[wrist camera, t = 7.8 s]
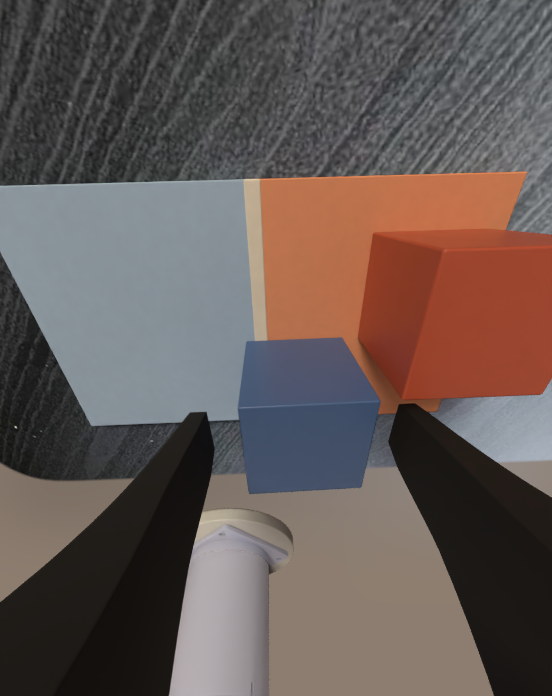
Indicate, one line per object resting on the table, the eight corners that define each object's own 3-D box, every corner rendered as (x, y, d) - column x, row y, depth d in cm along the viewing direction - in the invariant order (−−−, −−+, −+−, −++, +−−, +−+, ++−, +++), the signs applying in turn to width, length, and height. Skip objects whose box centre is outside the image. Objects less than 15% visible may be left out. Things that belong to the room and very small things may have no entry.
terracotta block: (357, 337, 12) (401, 401, 8) (372, 231, 9) (444, 249, 6) (452, 333, 12) (542, 395, 8) (488, 228, 10) (637, 242, 6)
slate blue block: (252, 413, 14) (248, 494, 10) (246, 340, 11) (237, 408, 8) (334, 409, 14) (361, 488, 10) (342, 336, 12) (381, 400, 8)
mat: (96, 419, 14) (90, 427, 14) (-21, 187, 9) (-37, 186, 8) (432, 405, 14) (437, 412, 14) (515, 172, 9) (529, 171, 9)
